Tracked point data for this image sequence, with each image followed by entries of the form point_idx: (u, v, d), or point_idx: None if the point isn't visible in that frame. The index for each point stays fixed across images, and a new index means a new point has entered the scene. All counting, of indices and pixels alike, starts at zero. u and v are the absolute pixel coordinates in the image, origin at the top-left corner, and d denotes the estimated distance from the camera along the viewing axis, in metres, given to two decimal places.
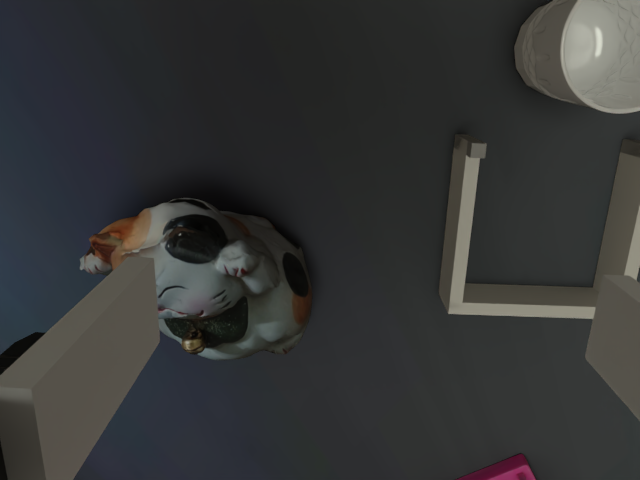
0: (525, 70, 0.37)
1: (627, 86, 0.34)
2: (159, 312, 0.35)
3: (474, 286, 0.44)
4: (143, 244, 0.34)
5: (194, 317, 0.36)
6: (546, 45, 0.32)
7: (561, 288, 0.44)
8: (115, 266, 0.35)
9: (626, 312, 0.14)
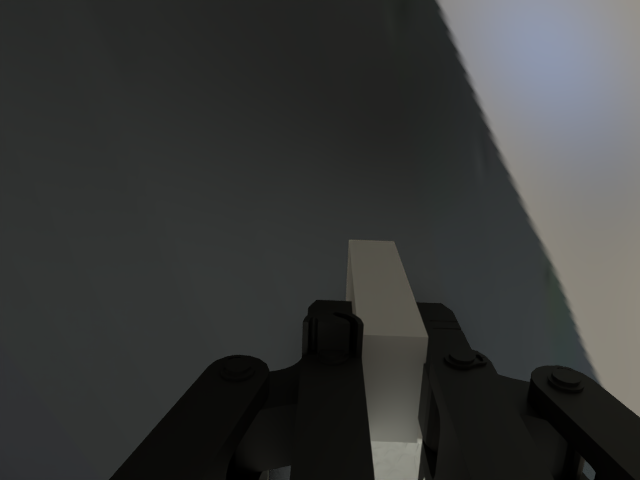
0: None
1: None
2: None
3: None
4: None
5: None
6: None
7: None
8: None
9: None
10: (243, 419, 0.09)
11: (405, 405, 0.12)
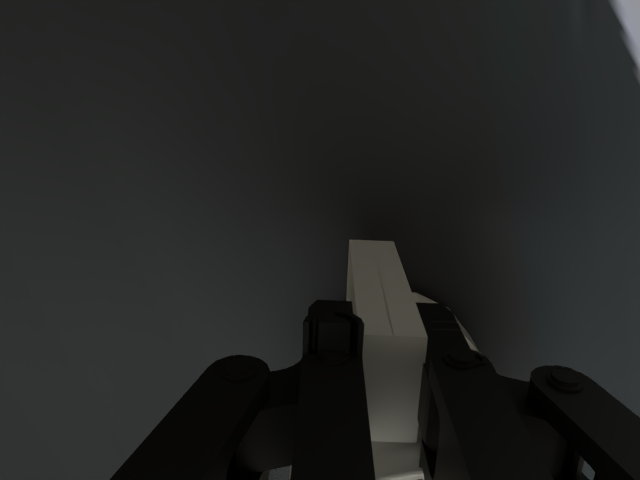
0: None
1: None
2: None
3: None
4: None
5: None
6: None
7: None
8: None
9: None
10: (244, 419, 0.09)
11: (404, 405, 0.12)
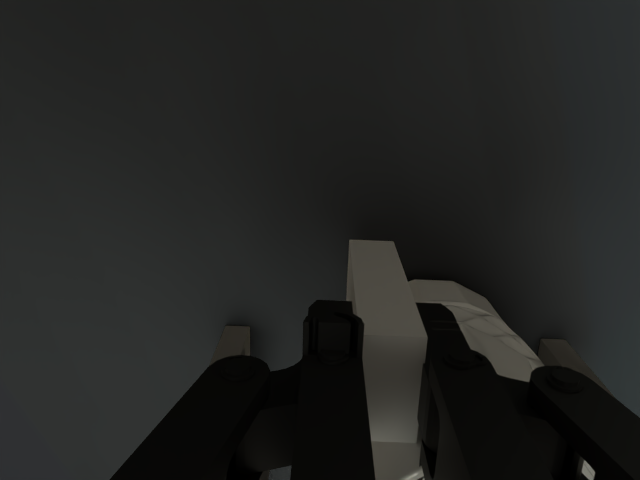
0: None
1: None
2: None
3: None
4: None
5: None
6: None
7: None
8: None
9: None
10: (244, 419, 0.09)
11: (404, 405, 0.12)
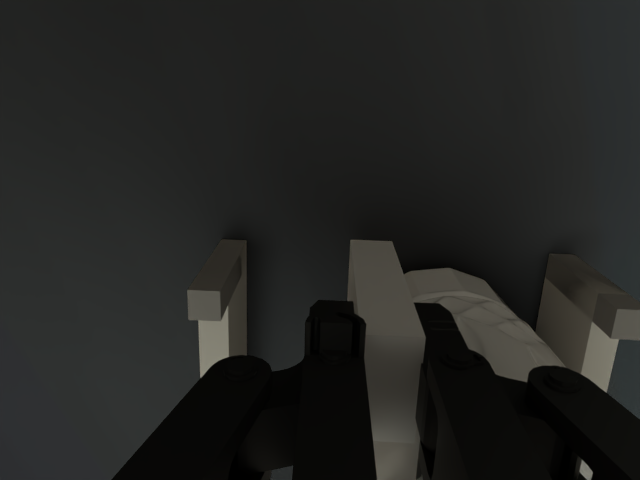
0: None
1: None
2: None
3: None
4: None
5: None
6: None
7: None
8: None
9: None
10: (246, 419, 0.09)
11: (403, 405, 0.12)
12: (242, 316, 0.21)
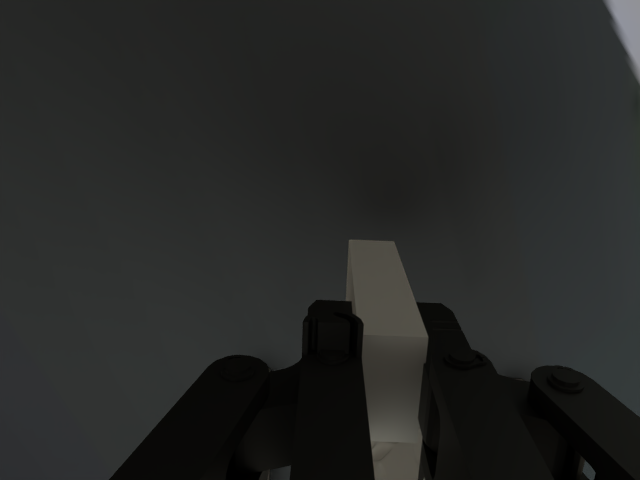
0: None
1: None
2: None
3: None
4: None
5: None
6: None
7: None
8: None
9: None
10: (243, 419, 0.09)
11: (405, 405, 0.12)
12: None
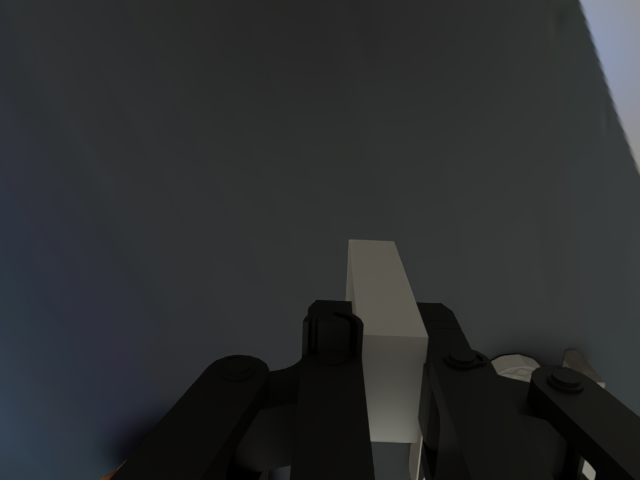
0: None
1: None
2: None
3: None
4: None
5: None
6: None
7: None
8: None
9: None
10: (243, 419, 0.09)
11: (405, 405, 0.12)
12: None
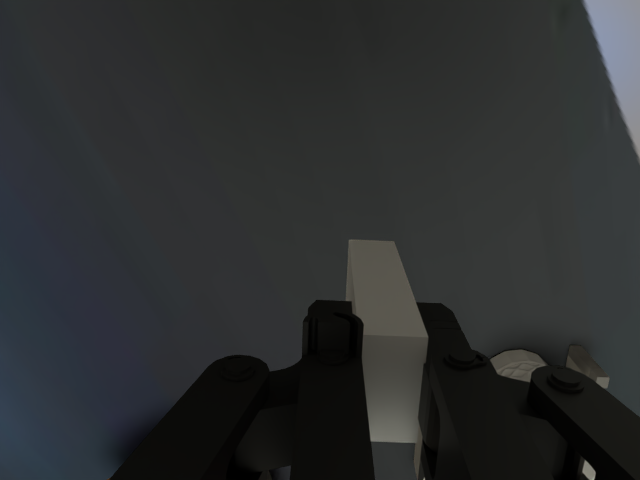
0: None
1: None
2: None
3: None
4: None
5: None
6: None
7: None
8: None
9: None
10: (243, 419, 0.09)
11: (405, 405, 0.12)
12: None
